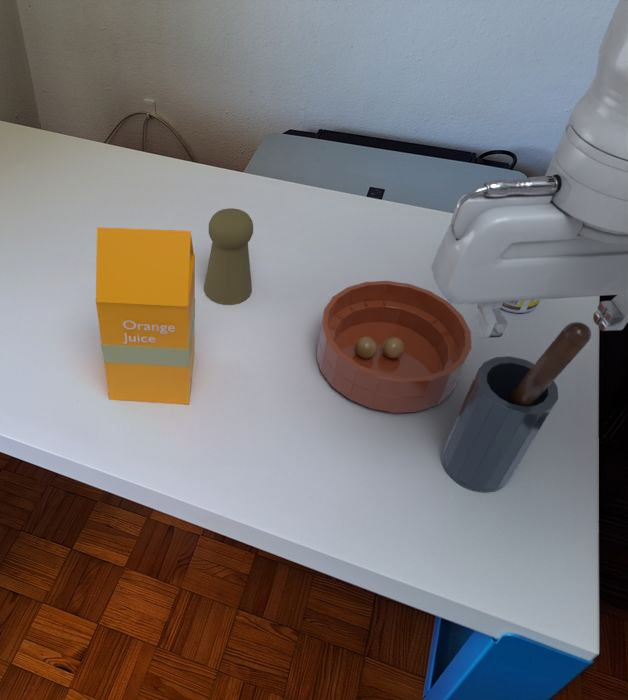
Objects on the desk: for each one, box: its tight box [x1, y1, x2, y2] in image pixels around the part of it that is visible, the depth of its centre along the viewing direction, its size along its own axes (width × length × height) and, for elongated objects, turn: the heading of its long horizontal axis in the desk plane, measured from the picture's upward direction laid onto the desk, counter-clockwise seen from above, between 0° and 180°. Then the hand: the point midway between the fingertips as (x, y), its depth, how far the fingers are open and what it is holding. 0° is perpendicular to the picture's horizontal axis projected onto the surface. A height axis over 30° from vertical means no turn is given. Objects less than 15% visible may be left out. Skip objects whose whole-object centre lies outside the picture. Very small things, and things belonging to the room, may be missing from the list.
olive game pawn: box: [203, 207, 254, 306], centre depth 82 cm, size 6×6×11 cm
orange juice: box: [95, 226, 196, 406], centre depth 69 cm, size 8×9×20 cm
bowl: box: [315, 280, 472, 414], centre depth 74 cm, size 15×15×6 cm
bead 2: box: [382, 337, 405, 359], centre depth 76 cm, size 2×2×2 cm
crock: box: [441, 356, 559, 493], centre depth 63 cm, size 6×6×12 cm
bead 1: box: [355, 337, 378, 358], centre depth 76 cm, size 2×2×2 cm
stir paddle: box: [505, 321, 592, 406], centre depth 58 cm, size 3×2×22 cm, turn 91°
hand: (546, 328), depth 53 cm, fingers open, 8 cm apart
